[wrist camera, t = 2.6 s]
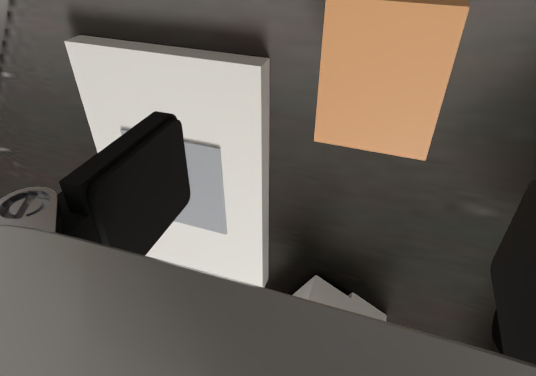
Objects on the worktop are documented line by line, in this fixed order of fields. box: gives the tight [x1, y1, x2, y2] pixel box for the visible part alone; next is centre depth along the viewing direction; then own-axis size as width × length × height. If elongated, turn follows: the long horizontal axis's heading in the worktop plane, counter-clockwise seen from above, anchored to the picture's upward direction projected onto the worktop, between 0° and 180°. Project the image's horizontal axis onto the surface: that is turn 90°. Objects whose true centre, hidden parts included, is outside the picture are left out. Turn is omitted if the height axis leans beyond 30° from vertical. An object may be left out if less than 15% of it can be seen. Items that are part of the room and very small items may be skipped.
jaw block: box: [314, 0, 470, 161], centre depth 18 cm, size 6×5×7 cm
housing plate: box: [64, 35, 270, 288], centre depth 30 cm, size 20×14×5 cm
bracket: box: [293, 275, 387, 321], centre depth 35 cm, size 13×7×8 cm, turn 151°
